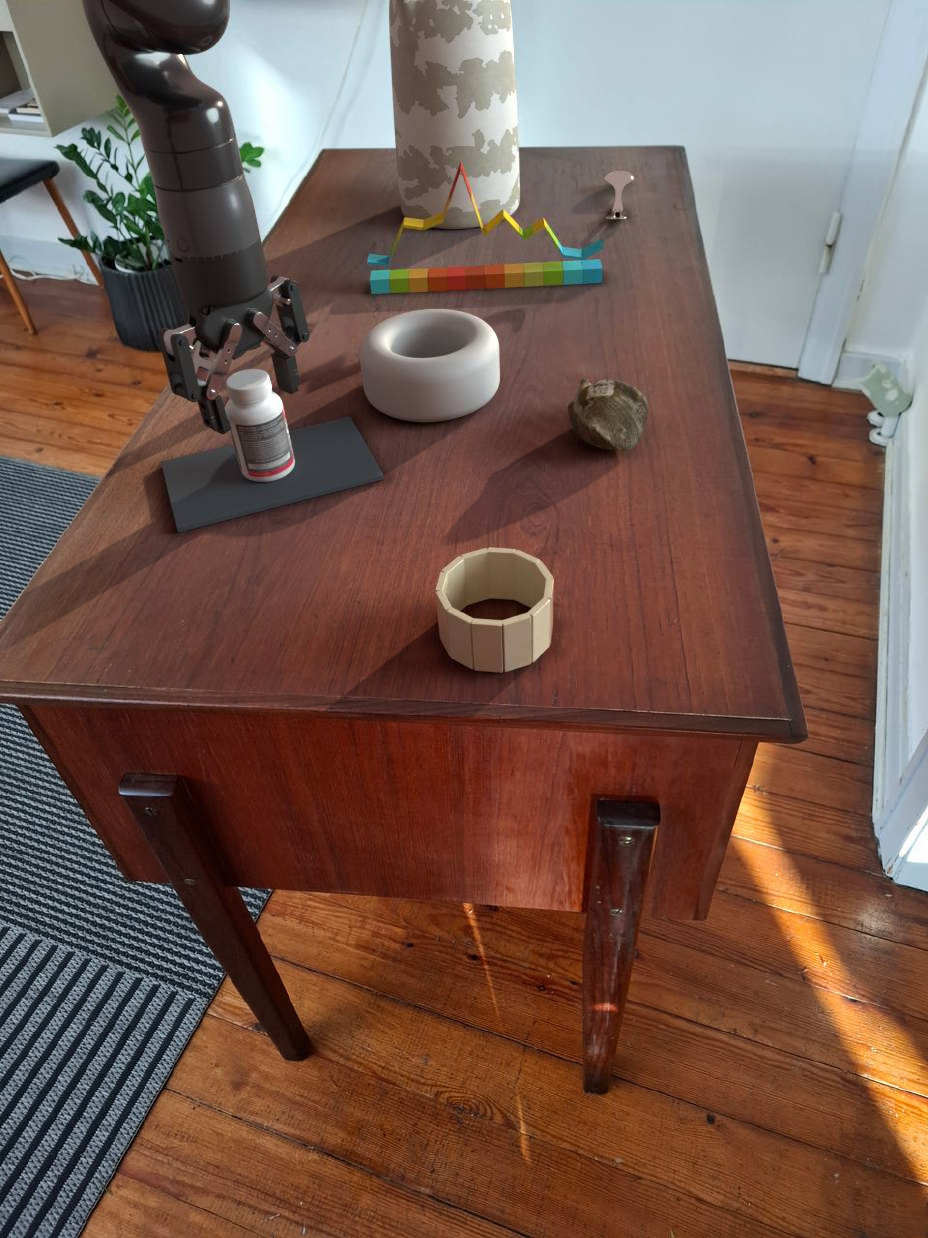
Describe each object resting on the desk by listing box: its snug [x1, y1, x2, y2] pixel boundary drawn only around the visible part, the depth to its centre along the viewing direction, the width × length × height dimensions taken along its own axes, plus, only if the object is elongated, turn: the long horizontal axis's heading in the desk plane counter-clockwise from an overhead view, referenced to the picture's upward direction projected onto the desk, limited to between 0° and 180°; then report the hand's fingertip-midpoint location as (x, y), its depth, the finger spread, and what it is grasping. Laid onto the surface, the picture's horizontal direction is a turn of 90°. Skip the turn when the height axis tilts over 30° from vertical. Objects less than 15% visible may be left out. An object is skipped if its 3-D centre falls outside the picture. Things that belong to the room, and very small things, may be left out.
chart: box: [367, 161, 604, 295], centre depth 114 cm, size 30×3×15 cm, turn 90°
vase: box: [388, 0, 521, 230], centre depth 126 cm, size 20×19×38 cm
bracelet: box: [434, 547, 555, 674], centre depth 69 cm, size 9×9×5 cm
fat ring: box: [358, 308, 501, 423], centre depth 97 cm, size 15×15×7 cm
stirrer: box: [604, 170, 635, 220], centre depth 135 cm, size 20×4×5 cm
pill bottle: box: [224, 368, 295, 482], centre depth 85 cm, size 5×5×10 cm
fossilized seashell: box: [567, 377, 650, 452], centre depth 89 cm, size 8×7×10 cm
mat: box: [160, 416, 384, 533], centre depth 89 cm, size 20×12×1 cm, turn 111°
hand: (255, 410), depth 84 cm, fingers open, 8 cm apart
